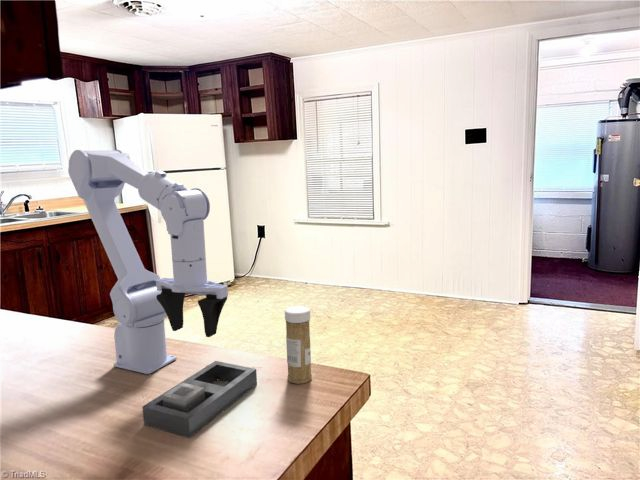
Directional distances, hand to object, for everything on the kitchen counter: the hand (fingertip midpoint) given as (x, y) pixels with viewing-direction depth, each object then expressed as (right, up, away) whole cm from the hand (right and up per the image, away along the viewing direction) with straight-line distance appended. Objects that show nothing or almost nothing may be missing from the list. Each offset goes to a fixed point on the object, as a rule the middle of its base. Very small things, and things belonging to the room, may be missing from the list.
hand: (194, 332), depth 86 cm
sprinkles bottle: (+19, -9, +2) cm, 21 cm away
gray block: (+1, -12, -11) cm, 16 cm away
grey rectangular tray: (+3, -11, -6) cm, 13 cm away
